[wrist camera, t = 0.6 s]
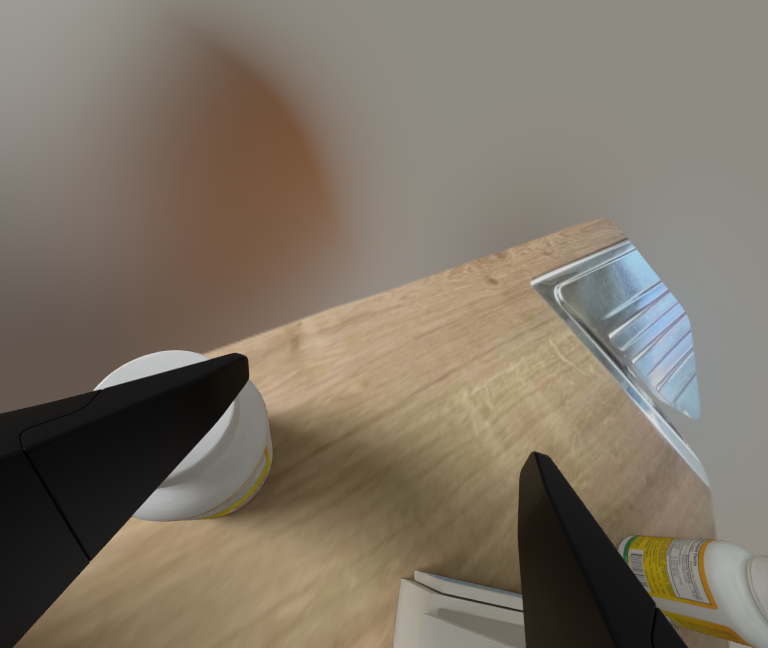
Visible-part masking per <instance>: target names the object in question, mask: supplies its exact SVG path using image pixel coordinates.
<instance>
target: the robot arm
mask: <svg viewBox="0 0 768 648" xmlns="http://www.w3.org/2000/svg"><path fill="white" fill-rule="evenodd" d="M248 380H249V364H248V358H247V357H246V356H245V355H242V354H239V353H232V354H228V355H224V356H220V357H217V358H213V359H209V360H206V361H202V362H198V363H195V364H191V365H187V366H184V367H180V368H176V369H173V370H169V371H165V372H162V373H158V374H154V375H151V376H147V377H143V378H140V379H136V380H132V381H129V382H125V383H121V384H118V385H114V386H110V387H107V388H104V389H103V390H102V389H99V390H96V391H92V392H88V393H85V394H81V395H77V396H73V397H69V398H66V399H62V400H57V401H53V402H49V403H45V404H40V405H36V406H32V407H27V408H23V409H19V410H14V411H10V412H6V413H1V414H0V648H13V647H14V645H15V644H16V643H17V642H18V641H19V640H20V639H21V638H22V637H23V636H24V634H25V633H26V632H27V631H28V630H29V629H30V628H31V627H32V626H33V625H34V623H35V622H36V621H37V620H38V619H39V618H40V617H41V616H42V615H43V614H44V612H45V611H46V610H47V609H48V608H49V607H50V606H51V605H52V604H53V603H54V602H55V600H56V599H57V598H58V597H59V596H60V595H61V594H62V593H63V592H64V591H65V589H66V588H67V587H68V586H69V585H70V584H71V583H72V582H73V581H74V580H75V578H76V577H77V576H78V575H79V574H80V573H81V572H82V571H83V570H84V569H85V567H86V566H87V565H88V564H89V563H90V561H91V560H92V559H93V558H94V557H95V556H96V555H97V554H98V553H99V552H100V551H101V550H102V548H103V547H104V546H105V545H106V544H107V543H108V542H109V541H110V540H111V539H112V537H113V536H114V535H115V534H116V533H117V532H118V531H119V530H120V529H121V528H122V526H123V525H124V524H125V523H126V522H127V521H128V520H129V519H130V518H131V517H132V515H133V514H134V513H135V512H136V511H137V510H138V509H139V508H140V507H141V506H142V504H143V503H144V502H145V501H146V500H147V499H148V498H149V497H150V496H151V495H152V493H153V492H154V491H155V490H156V489H157V488H158V487H159V486H160V485H161V484H162V483H163V481H164V480H165V479H166V478H167V477H168V476H169V475H170V474H171V473H172V472H173V470H174V469H175V468H176V467H177V466H178V465H179V464H180V463H181V462H182V461H183V459H184V458H185V457H186V456H187V455H188V454H189V453H190V452H191V451H192V450H193V448H194V447H195V446H196V445H197V444H198V443H199V442H200V441H201V440H202V439H203V437H204V436H205V435H206V434H207V433H208V432H209V431H210V430H211V429H212V428H213V426H214V425H215V424H216V423H217V422H218V421H219V419H220V418H221V417H222V416H223V414H224V413H225V412H226V410H227V409H228V408H229V406H230V405H231V404H232V402H233V401H234V400H235V398H236V397H237V396H238V394H239V393H240V392H241V390H242V389H243V388H244V386H245V385H246V384H247V382H248ZM518 550H519V563H520V576H521V589H522V603H523V616H524V629H525V642H526V648H688V646H687V645H686V644H685V642H684V641H683V640H682V638H681V637H680V636H679V634H678V633H677V632H676V630H675V629H674V627H673V626H672V625H671V623H670V622H669V621H668V619H667V618H666V616H665V615H664V614H663V612H662V611H661V610H660V608H658V607H656V603H655V601H654V600H653V599H652V597H651V596H650V595H649V593H648V592H647V590H646V589H645V588H644V586H643V585H642V583H641V582H640V581H639V579H638V578H637V577H636V575H635V574H634V572H633V571H632V570H631V568H630V567H629V566H628V564H627V563H626V561H625V560H624V559H623V557H622V556H621V554H620V553H619V552H618V550H617V549H616V548H615V546H614V545H613V543H612V542H611V541H610V539H609V538H608V537H607V535H606V534H605V532H604V531H603V530H602V528H601V527H600V526H599V524H598V523H597V521H596V520H595V519H594V517H593V516H592V514H591V513H590V512H589V510H588V509H587V508H586V506H585V505H584V503H583V502H582V501H581V499H580V498H579V497H578V495H577V494H576V492H575V491H574V490H573V488H572V487H571V485H570V484H569V483H568V481H567V480H566V479H565V477H564V476H563V474H562V473H561V472H560V470H559V469H558V468H557V466H556V465H555V463H554V462H553V461H552V459H551V458H550V457H549V456H547V455H545V454H542V453H539V452H535V451H534V452H532V453H531V454H530V455H529V457H528V459H527V461H526V462H525V464H524V466H523V468H522V470H521V472H520V478H519V504H518Z"/></svg>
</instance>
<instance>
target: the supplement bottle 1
mask: <svg viewBox="0 0 768 648" xmlns="http://www.w3.org/2000/svg"><path fill="white" fill-rule="evenodd" d="M209 359H210V358H208V357H206V356H204V355H202V354H198V353H194V352H190V351H181V350H174V351H163V352H157V353H153V354H149V355H146V356H142V357H140V358H137V359H135V360H133V361H130V362H128V363H127V364H125V365H123V366H121V367H120V368H118V369H116V370H115V371H114V372H112V373H111V374H110V375H108V376H107V377H106V378H105V379H104V380H103V381H102V382H101V383H100V384H99V385H98V386H97V387H96V388H95V389H94V391H96V390H99V389H102V390H103V389H104V388H107V387H110V386H114V385H118V384H121V383H125V382H129V381H132V380H136V379H140V378H143V377H147V376H151V375H154V374H158V373H162V372H165V371H169V370H173V369H176V368H180V367H184V366H187V365H191V364H195V363H198V362H202V361H206V360H209ZM272 459H273V447H272V440H271V435H270V429H269V422H268V414H267V409H266V405H265V403H264V400H263V398H262V396H261V394H260V392H259V391H258V389H257V388H256V387H255V385H254V384H253V383H252V382H251V381H250V380H248V382H247V384H246V385H245V386H244V388H243V389H242V390H241V392H240V393H239V394H238V396H237V397H236V398H235V400H234V401H233V402H232V404H231V405H230V406H229V408H228V409H227V410H226V412H225V413H224V414H223V416H222V417H221V418H220V419H219V421H218V422H217V423H216V424H215V425H214V426H213V428H212V429H211V430H210V431H209V432H208V433H207V434H206V435H205V436H204V437H203V439H202V440H201V441H200V442H199V443H198V444H197V445H196V446H195V447H194V448H193V450H192V451H191V452H190V453H189V454H188V455H187V456H186V457H185V458H184V459H183V461H182V462H181V463H180V464H179V465H178V466H177V467H176V468H175V469H174V470H173V472H172V473H171V474H170V475H169V476H168V477H167V478H166V479H165V480H164V481H163V483H162V484H161V485H160V486H159V487H158V488H157V489H156V490H155V491H154V492H153V493H152V495H151V496H150V497H149V498H148V499H147V500H146V501H145V502H144V503H143V504H142V506H141V507H140V508H139V509H138V510H137V511H136V512H135V513H134V514H133V515H132V517H135V518H138V519H143V520H148V521H160V522H164V521H181V520H200V519H212V518H217V517H222V516H225V515H227V514H230V513H232V512H234V511H236V510H238V509H239V508H241V507H242V506H244V505H245V504H246V503H247V502H249V501H250V500H251V499H252V498H253V497H254V496H255V495H256V494H257V493H258V491H259V490H260V489H261V487H262V486H263V484H264V482H265V481H266V479H267V477H268V474H269V472H270V468H271V464H272Z"/></svg>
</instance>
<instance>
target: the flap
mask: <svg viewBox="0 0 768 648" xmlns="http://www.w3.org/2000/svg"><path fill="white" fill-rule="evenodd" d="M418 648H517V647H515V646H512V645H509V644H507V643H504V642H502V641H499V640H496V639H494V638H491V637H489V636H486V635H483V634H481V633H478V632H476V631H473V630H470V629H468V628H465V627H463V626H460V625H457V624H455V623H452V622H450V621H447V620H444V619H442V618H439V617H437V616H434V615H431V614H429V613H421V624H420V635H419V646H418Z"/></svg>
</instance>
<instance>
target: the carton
mask: <svg viewBox="0 0 768 648" xmlns="http://www.w3.org/2000/svg"><path fill="white" fill-rule="evenodd" d="M414 580H416V581H418V582H416V581H411V580H407V579H402V578H401V584H400V592H399V600H398V608H397V616H396V624H395V632H394V640H393V648H418V646H419V635H420V624H421V613H429V614H431V615H434V616H437V617H439V618H442V619H444V620H447V621H450V622H452V623H455V624H457V625H460V626H463V627H465V628H468V629H470V630H473V631H476V632H478V633H481V634H483V635H486V636H489V637H491V638H494V639H496V640H499V641H502V642H504V643H507V644H509V645H512V646H515V647H517V648H526V642H525V629H524V616H523V603H522V594H518V593H514V592H509V591H505V590H500V589H496V588H492V587H487V586H483V585H479V584H474V583H470V582H465V581H461V580H457V579H452V578H448V577H443V576H439V575H435V574H430V573H425V572H421V571H417V570H415V575H414Z"/></svg>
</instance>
